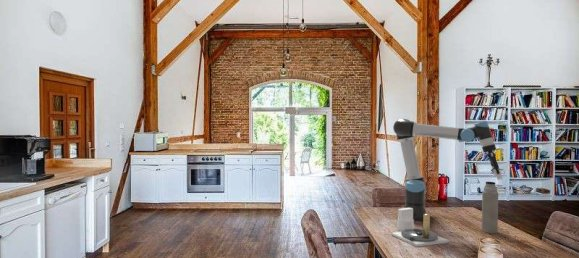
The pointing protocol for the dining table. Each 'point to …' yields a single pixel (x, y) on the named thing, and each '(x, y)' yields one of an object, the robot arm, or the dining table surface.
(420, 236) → the cam dial
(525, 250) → the dining table surface
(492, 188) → the thermos bottle
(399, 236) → the base plate
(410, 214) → the cylinder with rectangular tab
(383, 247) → the dining table surface
